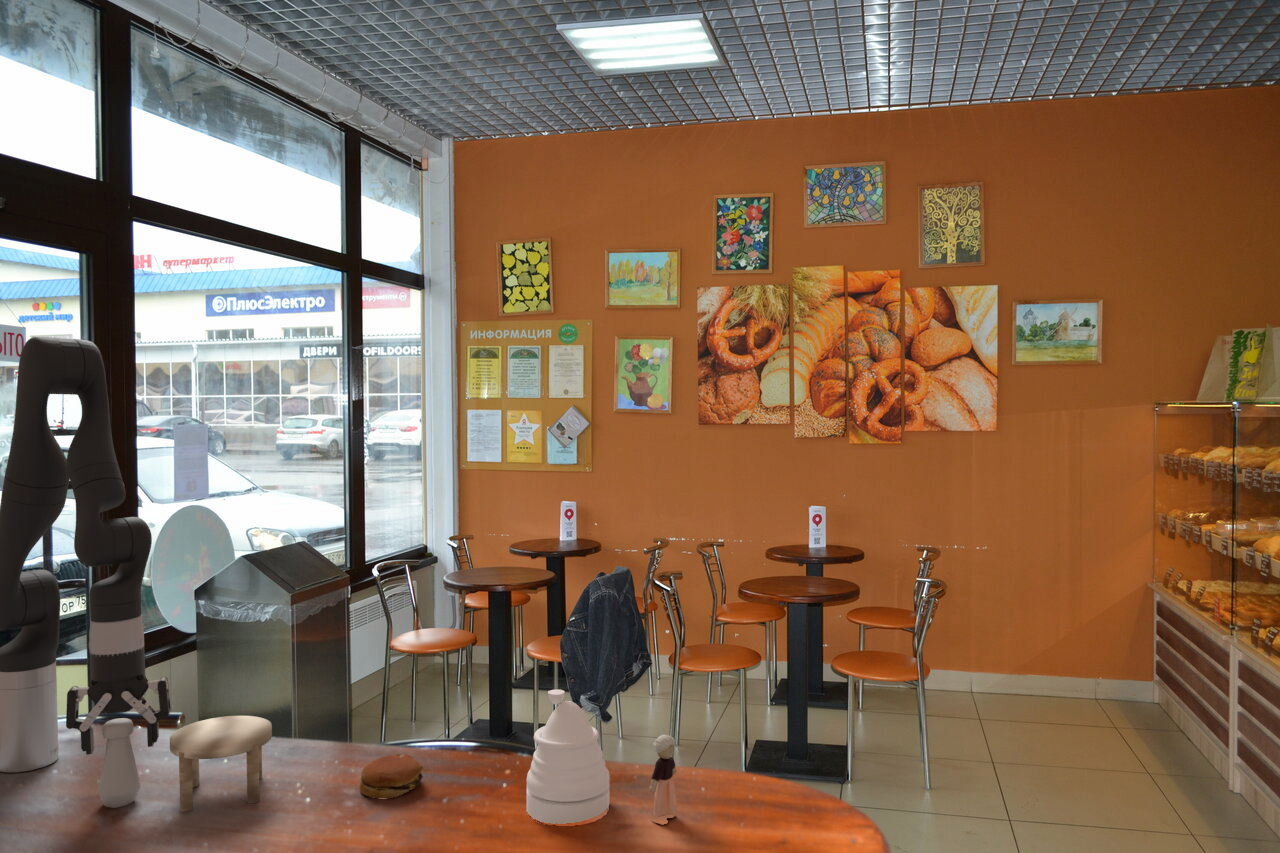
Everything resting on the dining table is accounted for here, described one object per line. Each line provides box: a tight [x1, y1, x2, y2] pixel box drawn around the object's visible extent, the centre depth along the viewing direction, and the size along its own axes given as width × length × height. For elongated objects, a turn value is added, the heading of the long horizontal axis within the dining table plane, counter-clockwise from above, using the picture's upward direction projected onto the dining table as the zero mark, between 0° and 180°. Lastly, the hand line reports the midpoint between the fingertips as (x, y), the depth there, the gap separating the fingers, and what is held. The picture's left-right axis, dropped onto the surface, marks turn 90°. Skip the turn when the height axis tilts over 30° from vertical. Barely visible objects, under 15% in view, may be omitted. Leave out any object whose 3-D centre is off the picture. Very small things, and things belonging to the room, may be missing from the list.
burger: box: [359, 753, 424, 799], centre depth 157 cm, size 10×9×5 cm
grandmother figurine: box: [648, 734, 678, 817], centre depth 146 cm, size 8×4×13 cm, turn 163°
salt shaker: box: [98, 717, 141, 809], centre depth 152 cm, size 6×6×13 cm
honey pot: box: [525, 689, 611, 824], centre depth 149 cm, size 13×13×18 cm
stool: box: [169, 715, 273, 813], centre depth 155 cm, size 15×15×10 cm
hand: (120, 749), depth 151 cm, fingers open, 8 cm apart
